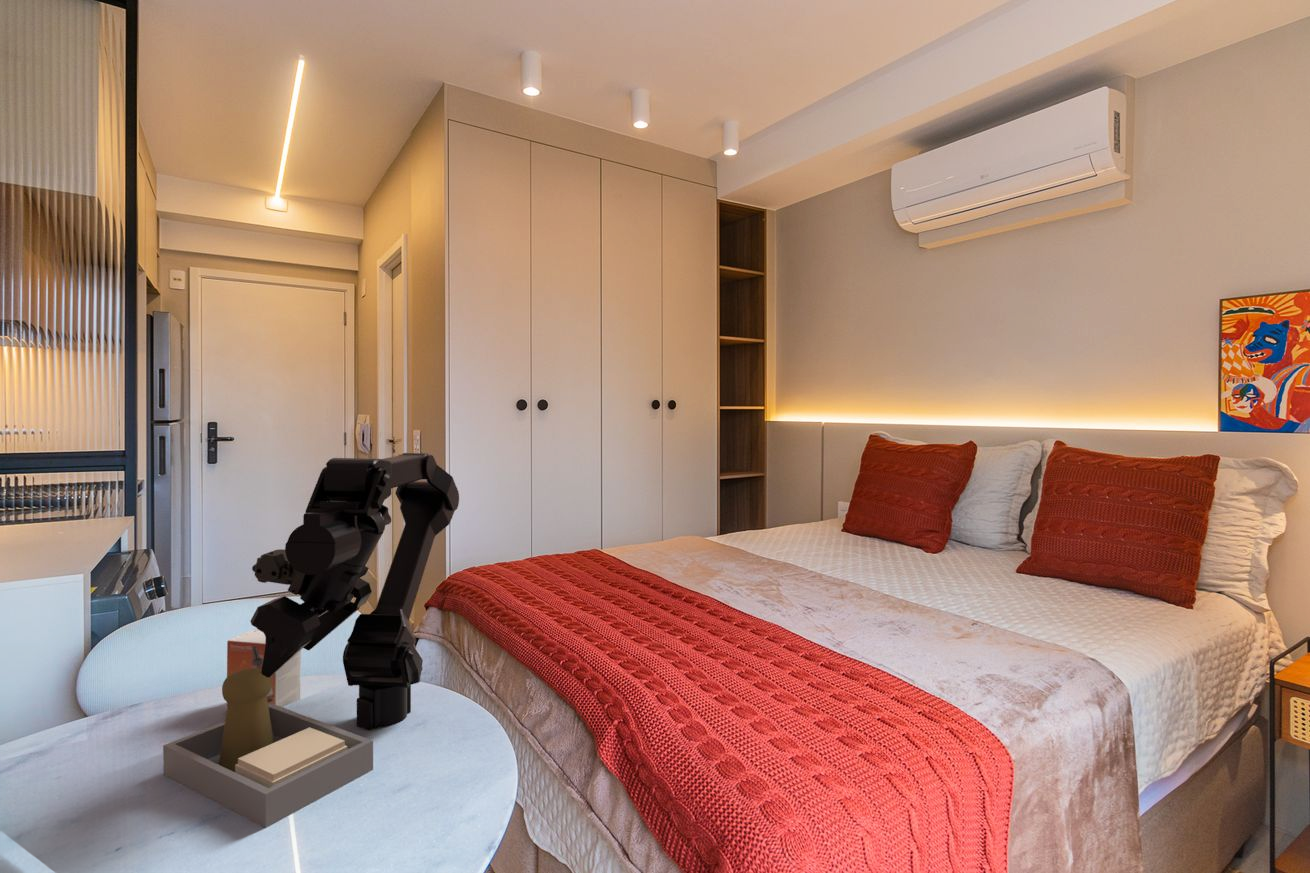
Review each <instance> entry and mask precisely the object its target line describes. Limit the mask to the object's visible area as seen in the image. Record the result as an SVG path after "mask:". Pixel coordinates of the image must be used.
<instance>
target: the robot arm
mask: <svg viewBox="0 0 1310 873" xmlns="http://www.w3.org/2000/svg"><path fill="white" fill-rule="evenodd" d="M421 480H426V481H421ZM394 488H396V490H395V496H396V497H397V499H398V501H399V504H400V505H399V510H400V513H401V515H402V518H403V521H404V527H403V530H402V532H401V535H400V538H399V541H398V543H397V546H396V549H395V552H394V555H393V558H392V560H391V563H390V566H389V569H388V572H387V575H386V578H385V580H384V584H383V586H382V588H381V589H382V590H381V592H380V595H379V597H378V601H377V603H376V607H375V608H374V610H373V611H371V612H370V613H360V614H359V615H358V617H356V619H355V621H354V626H353V628H352V631H351V634H350V635H349V637H348V638H347V644H345V648H344V650H343V653H342V664H343V668H344V673H345V677H346V681H347V685H348V686H349V687H353V686H358V697H357V698H356V727H357V728H360V729H363V730H366V731H368V732H369V731H372V730H377V729H379V728H386V727H390V726H394V725H397V724H399V723H401V722H403V721H404V720H405V719H406V718H407V717H408V714H411V710H412V707H411V706H412V705H411V702H412V699H411V697H412V694H411V693H412V685H414V684H419V683H420V682H421V676H422V671H423V661H424V660H423V658H422V657H421V655H420V653H419V652H418V651H417V649H416V647H415V646H414V645H415V640H416V639H415V636H414V632H413V630H412V627H411V624H410V617H411V614H412V610H413V608H414V605H415V601H416V598H417V595H418V592H419V588H420V586H421V583H422V579H423V576H424V574H425V573H424V572H425V569H426V566H427V563H428V560H429V556H430V554H431V550H432V548H433V544H434V541H435V537H436V536H437V535H439V533H441V532H442V531H444V529H445V528H447V527H448V526H449V525H450V524H451V521H452V519H453V516H454V513H455V511H457V510H458V507H459V504H460V493H459V490H458V486H457V484H456V483H455V480H454V477H453V476H452V475H451V474H449V473H448V472H447V471H446V470H445V469H443V468H442V467H441V466H440V465H438V463H437V462H436V459H435V457H434V456H433V455H432V454H429V453H425V452H423V453H422V452H421V453H419V452H417V453H416V452H403V453H401V454H398V455H395V456H390V457H385V458H361V457H360V458H359V457H358V458H357V457H355V458H354V457H353V458H352V457H349V458H347V457H333V458H330V459H328V461H327V462H326V464H325V467H324V468H322V470H321V472H320V473H319V477H318V479H317V481H316V484H315V487H314V489H313V490H312V493H311V496H310V499H309V501H308V503H307V507H306V509H305V513H304V514H303V518H302V519H303V521H302V522H303V523H302V524H301V525H299V526H297V527H296V528H294V530H293V531H292V532H291V533H290V534H289V536H288V538H287V540H286V541H287V542H286V543H285V547H284V549H282V548H281V549H279V548H278V549H274V550H272V551H269V552H266V553H264V554H261V555H260V556H259V557H258V558H256V563H255V564H253V566H252V568H251V570H252V572H253V573H254V577H255V578H256V579H257V580H256V581H257V582H259V583H264V584H266V583H274V584H281V585H287V586H288V585H289V586H288V588H287V591H288V592H289V593H291V594H293V595H295V596H298V595H299V596H300V597H299V598H300V600H301V601H303V602H302V603H298V602H296V601H294V600H293V599H292V598H289V597H288V596H286V595H284V596H281V597H278V598H274V599H272V600H270V601H267V602H265V603H263V604H262V605H258V606H257V608H256V610H255V612H253V615H252V617H251V619H250V624H251V626H253V627H255V629H258V630H260V631H261V632H263V633H264V635H265V637H266V642H265V651H264V658H263V664H262V671H261V674H262V675H264V676H266V677H268V678H269V677H271V676H272V675H273V674H274V673H275V672H277V671H278V670H279V669H280V668H281V667H282V666H283V665H284V664H286V663H287V662H288V661H289V660H290V659H291V658H292V657H293V656H294V655H296V654H297V653H298V652H299V651H300V650H301V651H302V650H303V649H304V650H306V651H311V650H312V649H313V648H314V647H315V646H316V645H317V644H319V643H320V642H321V641H323V640H324V639H325V638H326V637H327V636H329V635H330V634H331V633H332V632H334V631H335V630H336V629H338V627H339V626H341V625H342V624H343V623H344V622H345V621H347V620H348V619H349V618H350V617H352V616H353V615H354V614H355V613H356V612H357V611H359V609H360V608H361V607H362V606H364V605H365V604H367V601H368V600H369V598H370V596H371V594H372V588H371V585H370V583H369V582H368V581H366V580H364V579H363V578H362V577H364V576H365V575H366V574H367V572H368V570H369V569H370V568H369V567H368V566H366V565H367V563H368V562H369V559H370V558H371V556H372V554H373V552H374V550H375V549H376V547H377V544H378V543H379V541H380V540H381V538H382V535H383V533H384V532H385V529H386V526H388V525H390V524H391V522H392V517H391V515H390V513H389V507H388V506H385V505H384V502H385V500H387V499H388V498H389V497H390V496H392V489H394ZM354 598H355V600H354V601H353V599H354Z"/></svg>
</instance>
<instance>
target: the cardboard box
mask: <svg viewBox="0 0 1310 873" xmlns="http://www.w3.org/2000/svg"><path fill="white" fill-rule="evenodd" d="M345 750H347V746H346V745H345V741H344V740H342V739H339V738H336V737H334V736H331V735H329V734H326V733H323V732H321V731H318V730H315V729H313V728H310V727H309V728H307V729H305V730H302V731H300V732H298V733H295V734H293V735H291V736H289V737H286V738H284V739H282V740H279V741H277V742H275V743H272V744H270V745H268V746H266V747H263V748H261V749H259V750H256V751H254V752H252V753H249V754H247V755H245V756H243V757H240V758H238V764H236V765H235V773H237V774H239V775H242V776H244V777H246V778H248V779H250V780H252V781H254V782H256V783H259V784H261V785H263V786H265V787H267V788H270V787H272V786H274V785H276V784H278V783H280V782H283V781H285V780H287V779H289V778H291V777H293V776H295V775H297V774H299V773H301V772H303V771H305V770H307V769H309V768H311V767H313V766H315V765H317V764H319V763H321V762H323V761H325V760H327V759H329V758H331V757H333V756H335V755H337V754H339V753H341V752H343V751H345Z"/></svg>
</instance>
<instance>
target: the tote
mask: <svg viewBox="0 0 1310 873" xmlns="http://www.w3.org/2000/svg"><path fill="white" fill-rule="evenodd" d="M268 707H269V714H270V720H271V726H272V732H273V739H274V743H275V742H277V741H279V740H282V739H284V738H286V737H289V736H291V735H293V734H295V733H298V732H300V731H302V730H305V729H307V728H309V727H310V728H313V729H315V730H318V731H321V732H323V733H326V734H329V735H331V736H334V737H336V738H339V739H342V740H344V741H345V745H346V746H347V750H345V751H343V752H341V753H339V754H337V755H335V756H333V757H331V758H329V759H327V760H325V761H323V762H321V763H319V764H317V765H315V766H313V767H311V768H309V769H307V770H305V771H303V772H301V773H299V774H297V775H295V776H293V777H291V778H289V779H287V780H285V781H283V782H280V783H278V784H276V785H274V786H272V787H270V788H267V787H265V786H263V785H261V784H259V783H256V782H254V781H252V780H250V779H248V778H246V777H244V776H242V775H239V774H237V773H235V772H233V771H231V770H229V769H227V768H224V767H222V766H220V765H219V760H220V753H221V746H222V739H223V732H224V725H225V721H224V722H220V723H217V724H214V725H213V726H209V727H207V728H204V729H203V730H199V731H197V732H194V733H192V734H189V735H186V736H183V737H181V738H179V739H175V740H173V741H171V742H168V743H166V744H163V745H162V747H163V748H162V754H163V755H162V756H163V758H162V760H163V776H165V777H167V778H168V779H171V780H172V781H175V782H176V783H178V784H180V785H182V786H184V787H186V788H187V789H190V790H191V791H193V792H196V793H197V794H199V795H202V796H203V797H205V798H207V799H209V800H211V801H213V802H214V803H216V804H219V805H220V806H222V807H225V808H226V809H229V810H230V811H232V812H234V813H236V814H238V815H240V816H241V817H243V818H246V819H247V820H249V821H252V822H253V823H255V824H257V825H259V826H261V827H263V828H265V829H267V828H269V827H270V826H273V825H274V824H276V823H278V822H280V821H281V820H284V819H285V818H287V817H289V816H290V815H293V814H294V813H296V812H298V811H300V810H302V809H304V808H307V806H309V805H311V804H313V803H314V802H316V801H318V800H320V799H323V798H324V797H327V795H329V794H331V793H333V792H335V791H337V790H339V789H340V788H343V787H344V786H346V785H349V783H351V782H355V781H356V780H357V779H359V778H361V777H363V776H364V775H366V774H368V773H370V772H371V771H373V770H374V740H372V739H370V738H366V737H365V736H361V735H359V734H356V733H354V732H350V731H347V730H345V729H342V728H340V727H337V726H333V725H331V724H330V723H329V724H328V723H326V722H323V721H320V720H319V719H318V720H317V719H315V718H313V717H310V716H307V715H304V714H302V713H298V712H296V711H293V710H290V709H289V708H288V709H287V708H285V707H284V706H283V707H280V706H277V705H275V704H270V705H268Z"/></svg>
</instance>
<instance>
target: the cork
mask: <svg viewBox="0 0 1310 873" xmlns="http://www.w3.org/2000/svg"><path fill="white" fill-rule="evenodd" d="M261 671H262V669H261V668H249V669H243V670H239V671H236V672H234V673H232V674H231V675H229V676H228V677H227V676H226V678H225V679H224V681H223V683H222V686H221V690H222V691H221V692H222V694H221V695H222V697H223V700H224V701H225V702H226V712H225V719H224V722H225V725H224V732H223V739H222V746H221V753H220V760H219V765H220V766H222V767H224V768H227V769H229V770H231V771H233V772H235V765H236V764H238V758H240V757H243V756H245V755H247V754H249V753H252V752H254V751H256V750H259V749H261V748H263V747H266V746H268V745H270V744H272V743H274V739H273V732H272V726H271V720H270V714H269V707H268V701H267V694H268V693H269V692H270V690H271V686H272V679H271V677H269V678H268V677H266V676H264V675H262V674H261ZM227 703H228V704H227Z"/></svg>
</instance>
